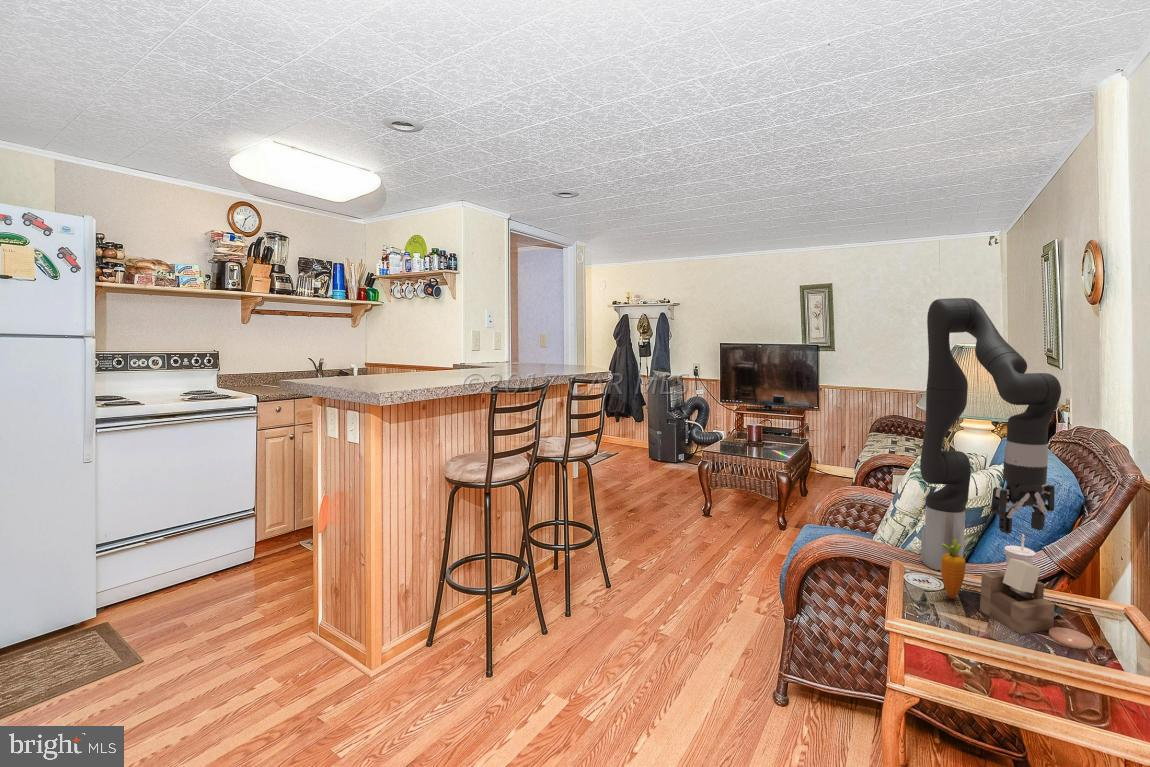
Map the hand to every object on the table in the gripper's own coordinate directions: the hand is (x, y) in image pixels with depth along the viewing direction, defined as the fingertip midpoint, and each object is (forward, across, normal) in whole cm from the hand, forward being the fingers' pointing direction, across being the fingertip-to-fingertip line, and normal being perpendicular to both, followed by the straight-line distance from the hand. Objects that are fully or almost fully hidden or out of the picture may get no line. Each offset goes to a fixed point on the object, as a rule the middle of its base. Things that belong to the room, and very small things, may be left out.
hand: (1021, 530), depth 122 cm
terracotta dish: (+22, +4, -9) cm, 24 cm away
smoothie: (+22, +16, +13) cm, 30 cm away
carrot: (+22, -6, +11) cm, 25 cm away
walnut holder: (+21, +1, 0) cm, 21 cm away
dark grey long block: (+17, +4, 0) cm, 18 cm away
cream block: (+14, 0, 0) cm, 14 cm away
